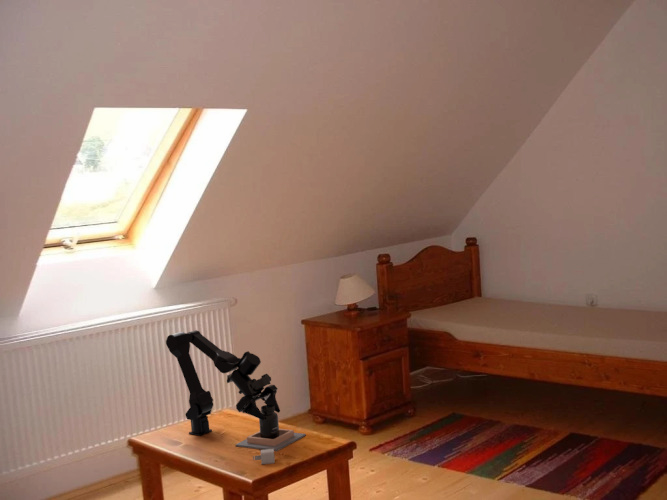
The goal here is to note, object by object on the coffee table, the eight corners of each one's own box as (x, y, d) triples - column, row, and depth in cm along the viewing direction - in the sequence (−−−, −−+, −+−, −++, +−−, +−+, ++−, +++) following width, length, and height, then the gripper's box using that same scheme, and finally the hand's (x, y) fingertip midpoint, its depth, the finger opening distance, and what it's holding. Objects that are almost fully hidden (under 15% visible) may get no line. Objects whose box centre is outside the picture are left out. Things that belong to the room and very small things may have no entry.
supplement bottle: (278, 441, 282) (275, 408, 281) (259, 442, 282) (256, 409, 281) (281, 435, 288) (278, 403, 288) (262, 436, 289) (259, 404, 288)
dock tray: (235, 446, 283) (234, 439, 282) (265, 431, 298) (265, 424, 298) (276, 451, 273) (276, 443, 273) (305, 435, 288) (305, 428, 288)
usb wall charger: (274, 463, 261) (273, 451, 260) (253, 466, 260) (252, 454, 260) (274, 459, 265) (273, 448, 264) (253, 462, 264) (252, 450, 264)
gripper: (239, 374, 278) (267, 408, 273) (271, 362, 293) (298, 394, 288) (224, 395, 282) (251, 428, 277) (256, 382, 298) (282, 413, 293)
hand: (271, 415), depth 284 cm, fingers open, 9 cm apart
